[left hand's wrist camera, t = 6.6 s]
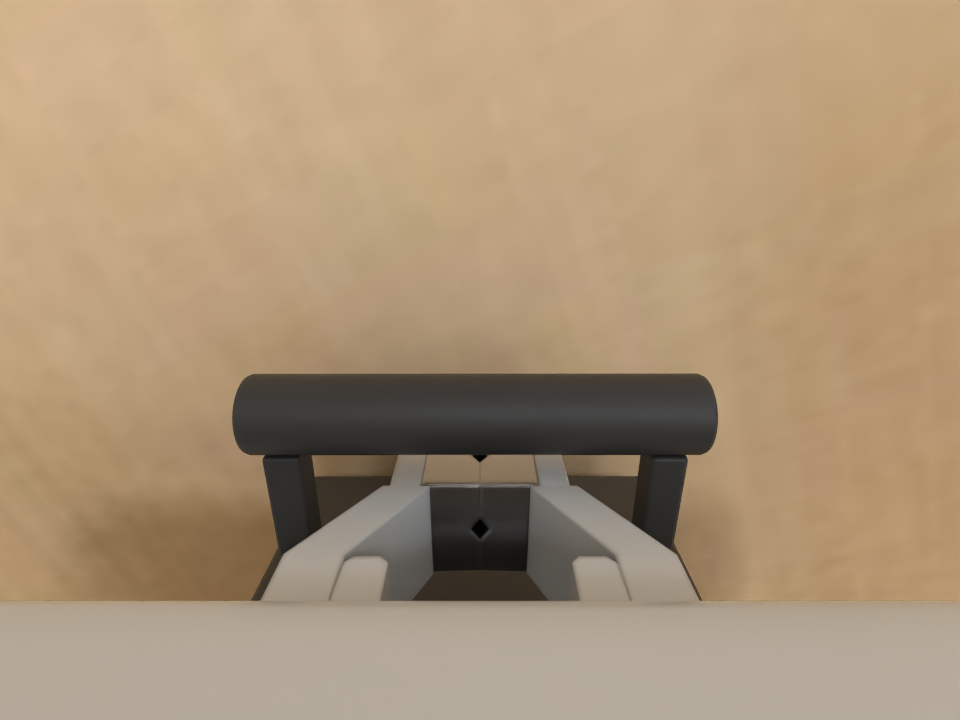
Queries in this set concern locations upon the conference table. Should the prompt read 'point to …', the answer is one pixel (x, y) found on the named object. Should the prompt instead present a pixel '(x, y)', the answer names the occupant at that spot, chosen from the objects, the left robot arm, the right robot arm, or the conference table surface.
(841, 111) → the conference table surface
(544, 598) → the drawer
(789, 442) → the conference table surface
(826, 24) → the conference table surface
